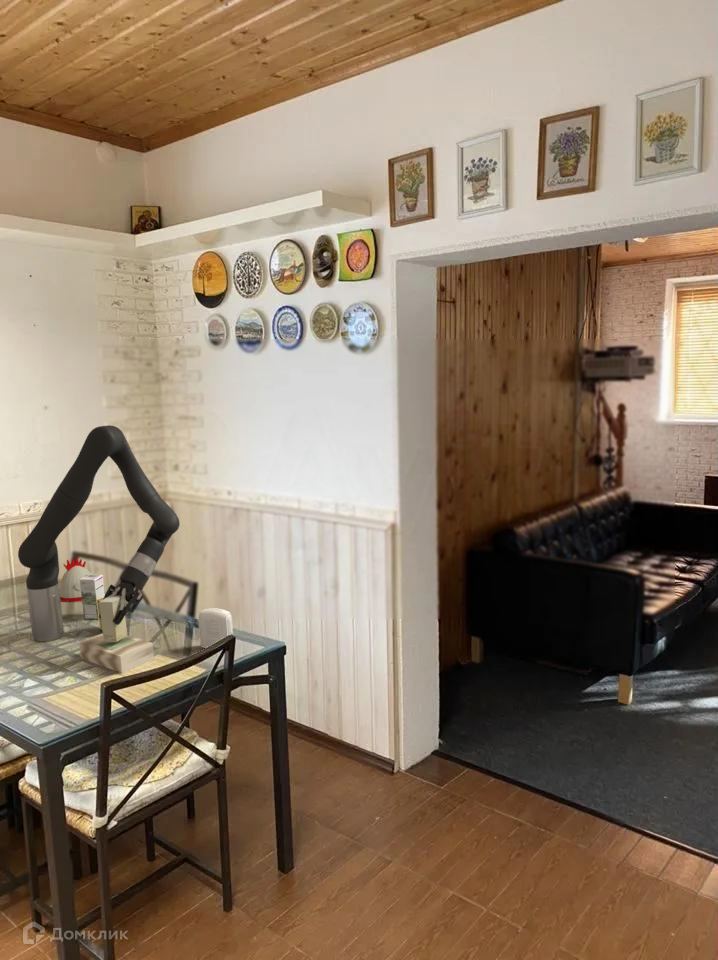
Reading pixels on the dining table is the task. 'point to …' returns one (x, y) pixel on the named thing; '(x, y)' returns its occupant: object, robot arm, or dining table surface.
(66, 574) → the kitchen timer
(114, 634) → the skincare box
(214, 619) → the photo printer
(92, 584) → the syrup box
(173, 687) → the dining table surface
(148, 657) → the step block
